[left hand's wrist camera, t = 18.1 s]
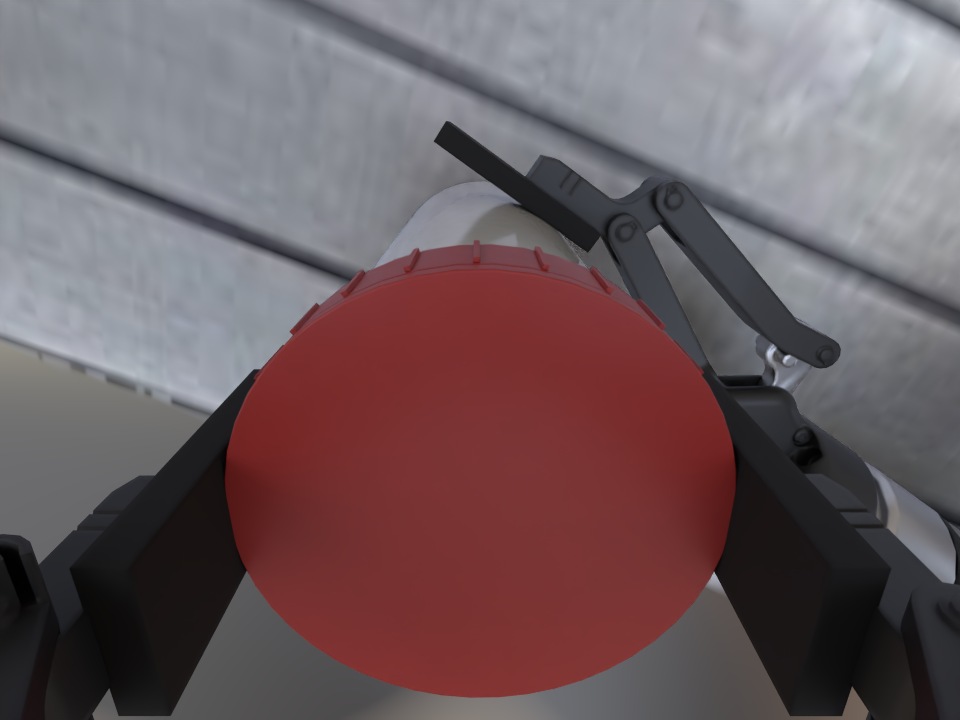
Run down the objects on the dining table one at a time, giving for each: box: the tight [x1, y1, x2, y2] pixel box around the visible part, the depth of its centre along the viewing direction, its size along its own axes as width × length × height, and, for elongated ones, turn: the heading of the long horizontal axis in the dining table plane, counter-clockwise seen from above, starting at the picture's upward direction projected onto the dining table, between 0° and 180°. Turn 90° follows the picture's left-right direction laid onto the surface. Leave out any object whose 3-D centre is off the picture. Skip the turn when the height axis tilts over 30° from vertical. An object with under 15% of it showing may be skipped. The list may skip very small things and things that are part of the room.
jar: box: [373, 181, 588, 269], centre depth 20 cm, size 8×8×19 cm
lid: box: [224, 240, 736, 698], centre depth 11 cm, size 9×9×2 cm
